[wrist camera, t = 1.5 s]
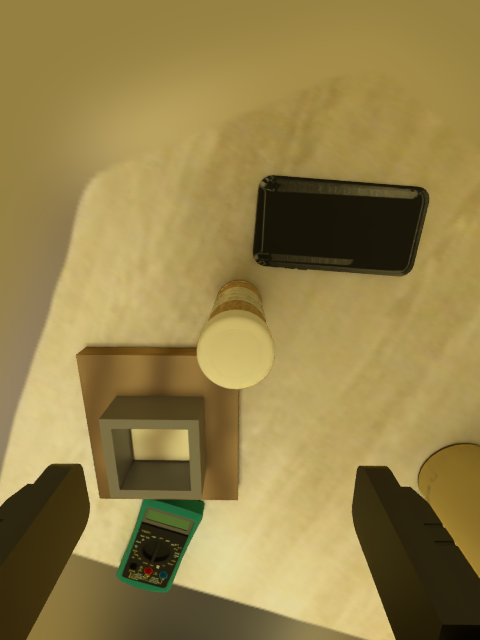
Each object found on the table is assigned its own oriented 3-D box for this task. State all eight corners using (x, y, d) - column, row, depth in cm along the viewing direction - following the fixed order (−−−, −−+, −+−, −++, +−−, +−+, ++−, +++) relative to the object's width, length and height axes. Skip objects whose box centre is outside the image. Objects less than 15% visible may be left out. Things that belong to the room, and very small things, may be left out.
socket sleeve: (204, 396, 31) (198, 420, 27) (206, 468, 33) (201, 499, 29) (116, 395, 31) (98, 419, 27) (125, 467, 33) (110, 497, 30)
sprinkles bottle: (239, 332, 31) (237, 406, 18) (206, 302, 30) (178, 357, 17) (271, 300, 30) (292, 354, 17) (237, 269, 29) (233, 300, 16)
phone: (260, 174, 26) (432, 187, 26) (259, 176, 27) (425, 189, 27) (252, 266, 28) (410, 278, 28) (251, 264, 29) (404, 276, 29)
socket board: (238, 348, 31) (238, 357, 29) (238, 485, 36) (237, 501, 34) (86, 347, 31) (74, 355, 29) (107, 484, 37) (99, 499, 35)
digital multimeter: (120, 561, 41) (111, 585, 38) (150, 480, 37) (142, 501, 34) (172, 575, 42) (167, 600, 39) (206, 497, 38) (203, 519, 35)
